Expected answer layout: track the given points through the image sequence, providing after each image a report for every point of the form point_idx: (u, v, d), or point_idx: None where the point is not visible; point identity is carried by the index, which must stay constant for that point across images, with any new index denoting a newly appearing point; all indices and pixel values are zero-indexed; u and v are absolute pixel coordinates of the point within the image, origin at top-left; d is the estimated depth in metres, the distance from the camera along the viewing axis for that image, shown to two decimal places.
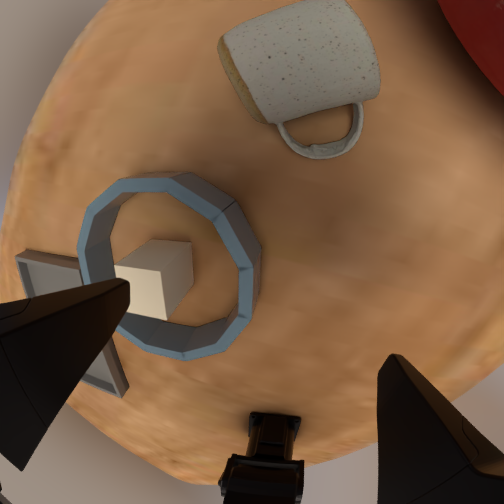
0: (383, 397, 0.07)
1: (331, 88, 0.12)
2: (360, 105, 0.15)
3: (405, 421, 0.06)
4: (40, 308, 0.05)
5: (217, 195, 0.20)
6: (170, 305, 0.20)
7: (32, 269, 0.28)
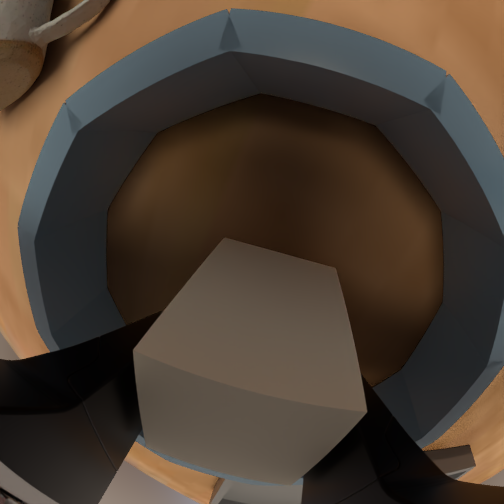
0: None
1: None
2: None
3: None
4: (117, 351, 0.05)
5: None
6: (322, 372, 0.04)
7: (237, 498, 0.17)
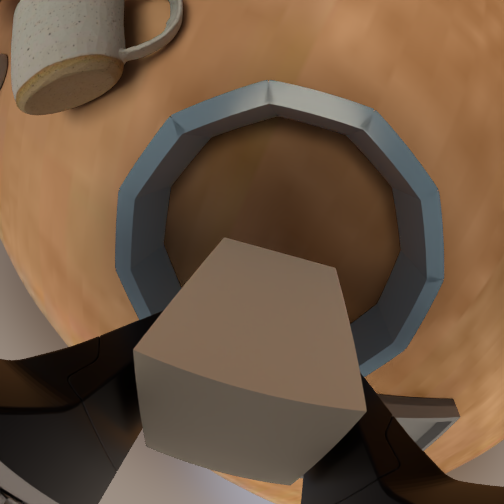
0: None
1: None
2: None
3: None
4: (117, 351, 0.05)
5: None
6: (322, 371, 0.04)
7: None
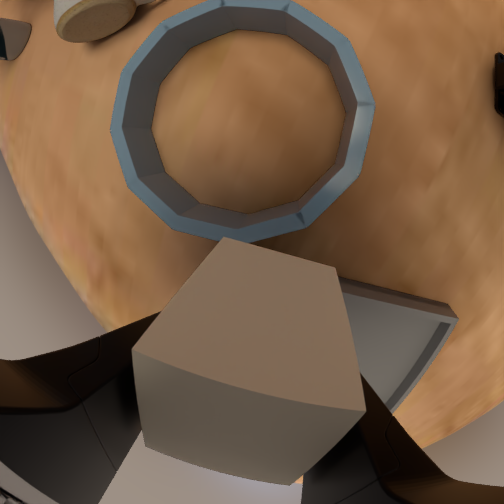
0: None
1: None
2: None
3: None
4: (117, 351, 0.05)
5: None
6: (321, 371, 0.04)
7: None
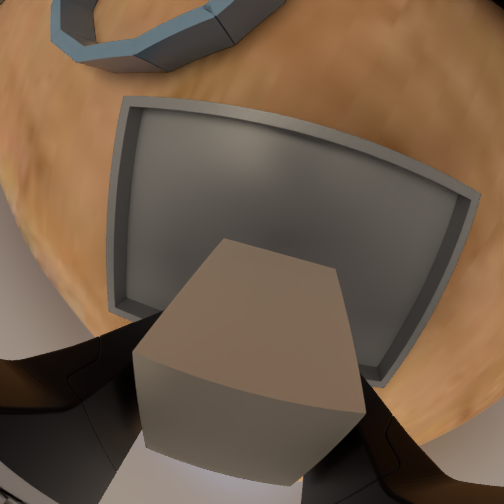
0: None
1: None
2: None
3: None
4: (117, 351, 0.05)
5: None
6: (321, 373, 0.04)
7: (145, 289, 0.18)
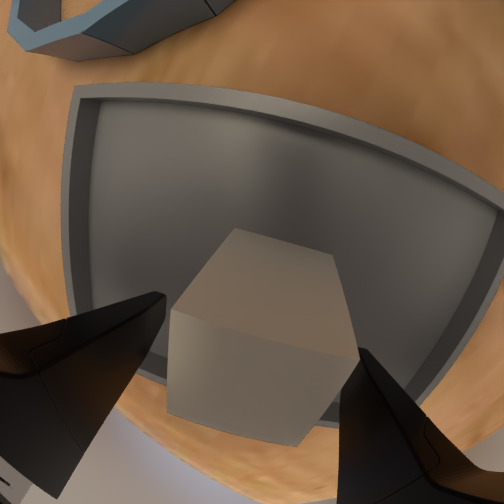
0: (345, 392, 0.07)
1: None
2: None
3: (364, 419, 0.06)
4: (79, 331, 0.05)
5: None
6: (322, 329, 0.06)
7: None
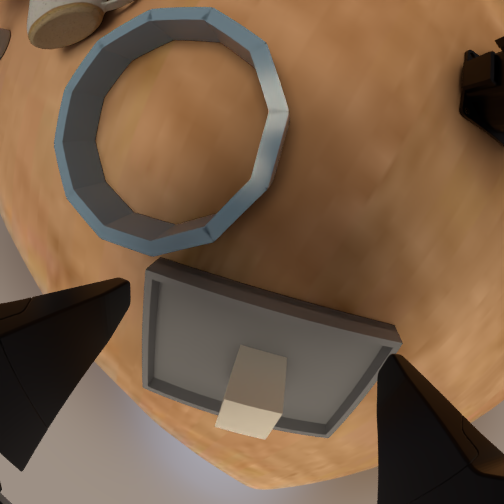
0: (383, 397, 0.07)
1: None
2: None
3: (404, 420, 0.06)
4: (40, 308, 0.05)
5: None
6: (272, 402, 0.17)
7: (169, 375, 0.24)
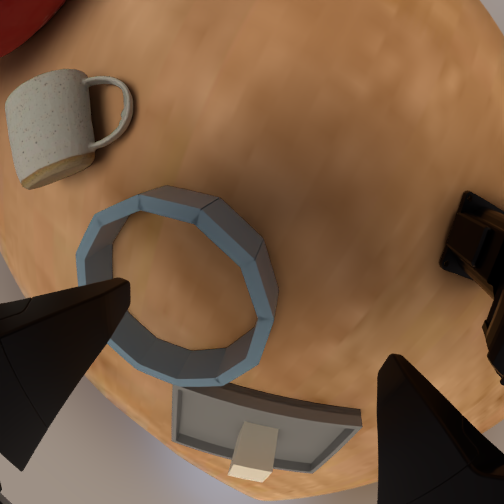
0: (383, 397, 0.07)
1: (50, 106, 0.13)
2: (85, 80, 0.15)
3: (405, 421, 0.06)
4: (40, 308, 0.05)
5: None
6: (265, 464, 0.22)
7: (191, 433, 0.30)
